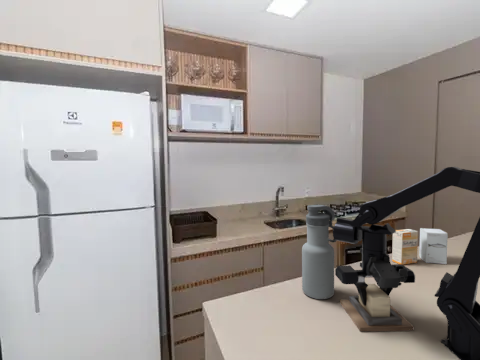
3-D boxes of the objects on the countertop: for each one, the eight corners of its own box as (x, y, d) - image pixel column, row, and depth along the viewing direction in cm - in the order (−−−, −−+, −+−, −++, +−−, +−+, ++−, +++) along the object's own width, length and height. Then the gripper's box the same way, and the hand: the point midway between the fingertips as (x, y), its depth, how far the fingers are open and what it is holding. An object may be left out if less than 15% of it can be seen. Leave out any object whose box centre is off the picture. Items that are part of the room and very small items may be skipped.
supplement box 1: (401, 265, 102) (402, 232, 102) (391, 261, 107) (392, 229, 106) (418, 263, 105) (418, 231, 104) (407, 258, 109) (408, 228, 108)
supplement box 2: (425, 263, 104) (426, 232, 103) (418, 256, 111) (419, 227, 111) (447, 264, 102) (448, 233, 101) (439, 258, 109) (439, 228, 108)
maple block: (358, 301, 74) (358, 284, 73) (374, 300, 74) (374, 283, 73) (372, 316, 66) (372, 297, 66) (389, 316, 66) (390, 297, 66)
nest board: (413, 330, 64) (413, 320, 63) (360, 331, 64) (360, 321, 64) (384, 302, 77) (384, 293, 76) (339, 302, 77) (339, 294, 76)
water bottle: (321, 282, 90) (320, 202, 88) (342, 295, 81) (342, 206, 79) (296, 288, 86) (295, 204, 84) (315, 303, 77) (315, 209, 75)
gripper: (351, 259, 61) (351, 324, 62) (431, 258, 61) (430, 322, 62) (334, 245, 72) (334, 299, 73) (402, 243, 72) (401, 298, 73)
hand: (373, 304), depth 70 cm, fingers closed on maple block, 4 cm apart
